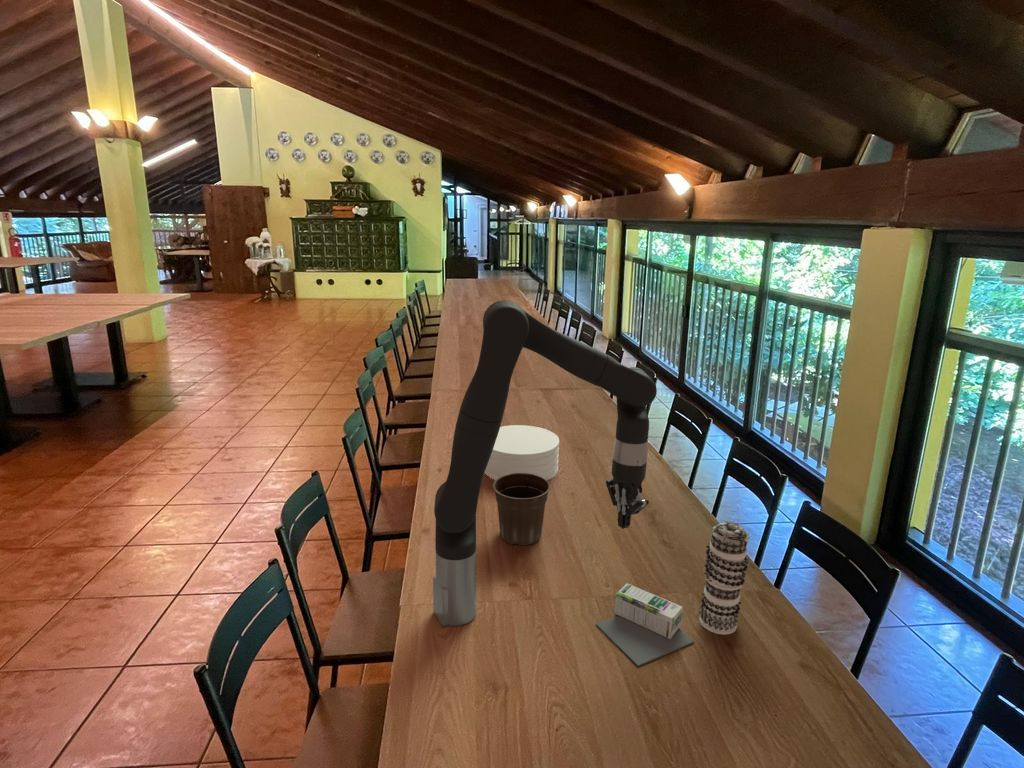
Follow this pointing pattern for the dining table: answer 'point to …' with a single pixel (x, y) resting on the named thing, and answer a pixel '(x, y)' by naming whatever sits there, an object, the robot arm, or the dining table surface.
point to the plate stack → (524, 452)
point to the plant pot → (521, 506)
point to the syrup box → (648, 610)
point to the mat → (641, 640)
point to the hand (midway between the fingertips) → (623, 526)
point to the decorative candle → (724, 578)
